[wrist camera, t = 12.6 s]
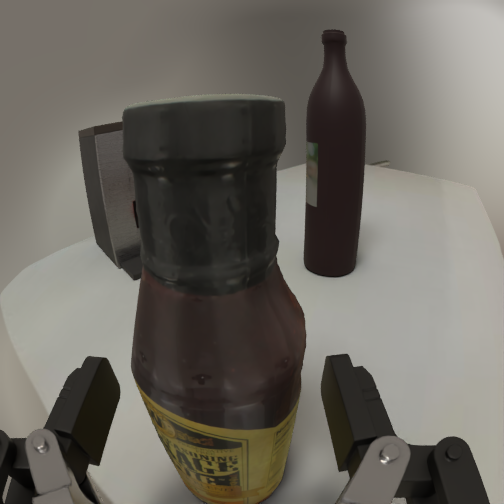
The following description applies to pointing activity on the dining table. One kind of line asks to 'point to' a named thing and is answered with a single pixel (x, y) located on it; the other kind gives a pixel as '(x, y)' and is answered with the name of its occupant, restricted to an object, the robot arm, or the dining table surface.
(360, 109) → the wine bottle
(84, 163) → the coffee maker
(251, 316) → the sauce bottle
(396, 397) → the dining table surface
